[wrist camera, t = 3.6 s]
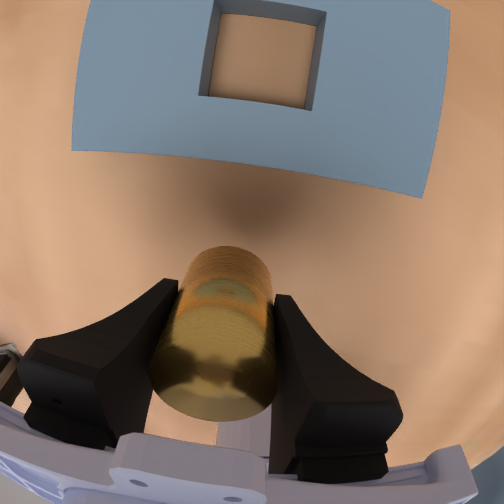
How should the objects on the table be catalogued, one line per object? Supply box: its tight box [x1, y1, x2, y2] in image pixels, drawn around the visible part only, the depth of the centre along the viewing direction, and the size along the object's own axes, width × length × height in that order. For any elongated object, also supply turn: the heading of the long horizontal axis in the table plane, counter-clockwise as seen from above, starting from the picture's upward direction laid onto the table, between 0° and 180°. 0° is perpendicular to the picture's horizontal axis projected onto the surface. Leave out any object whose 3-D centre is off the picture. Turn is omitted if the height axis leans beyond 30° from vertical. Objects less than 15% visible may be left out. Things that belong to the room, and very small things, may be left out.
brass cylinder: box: [148, 246, 278, 422], centre depth 12 cm, size 4×4×6 cm
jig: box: [72, 0, 450, 199], centre depth 14 cm, size 12×20×3 cm, turn 82°
